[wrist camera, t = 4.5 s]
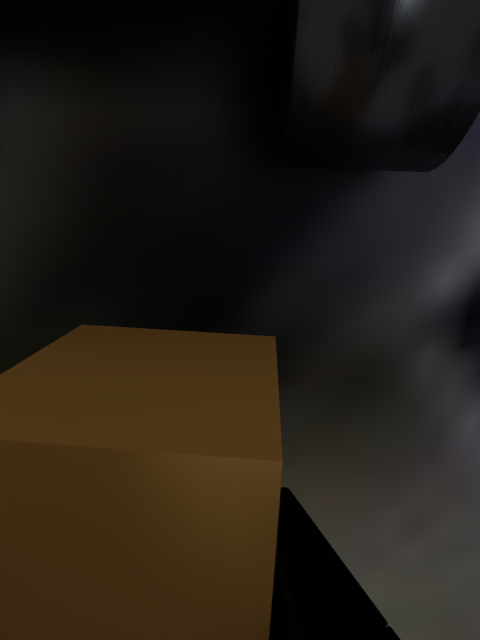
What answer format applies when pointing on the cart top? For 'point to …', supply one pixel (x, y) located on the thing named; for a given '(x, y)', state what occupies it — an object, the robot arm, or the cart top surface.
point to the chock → (140, 487)
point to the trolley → (380, 83)
